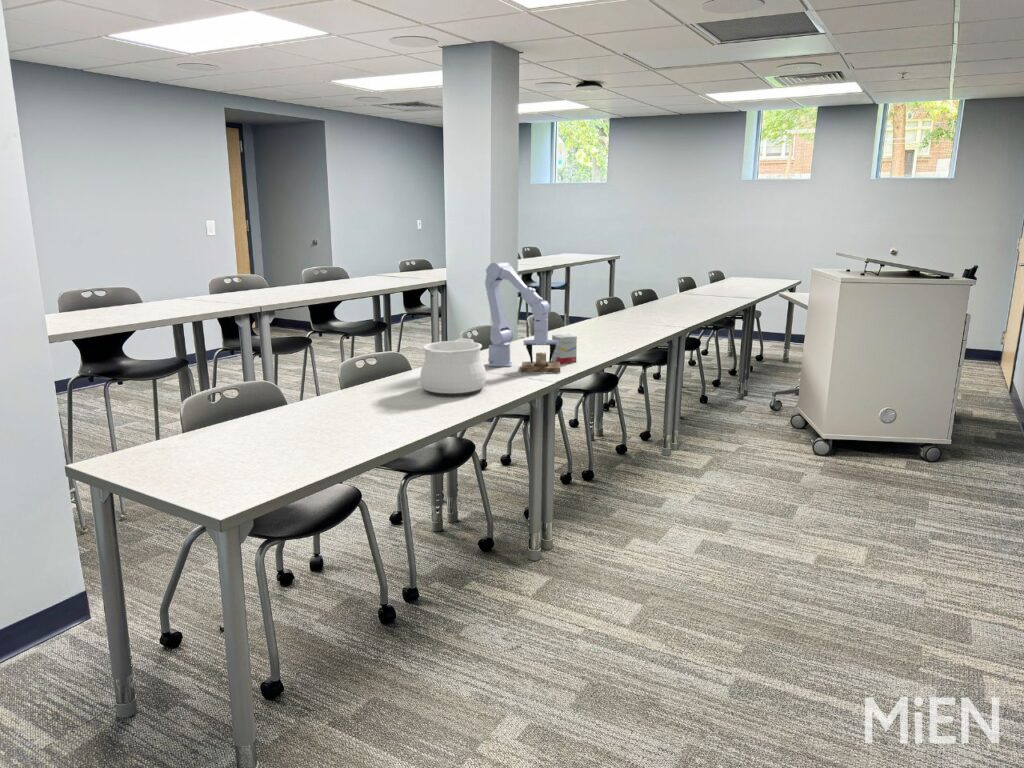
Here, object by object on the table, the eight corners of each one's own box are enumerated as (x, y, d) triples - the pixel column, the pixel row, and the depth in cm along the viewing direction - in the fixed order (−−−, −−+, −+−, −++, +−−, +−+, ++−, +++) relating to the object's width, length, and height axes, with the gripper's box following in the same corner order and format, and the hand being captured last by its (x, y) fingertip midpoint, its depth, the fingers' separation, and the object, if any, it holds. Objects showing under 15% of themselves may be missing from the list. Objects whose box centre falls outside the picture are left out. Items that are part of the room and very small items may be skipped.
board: (521, 372, 295) (521, 368, 295) (522, 366, 308) (522, 361, 308) (560, 372, 295) (560, 368, 294) (559, 366, 307) (559, 361, 307)
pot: (438, 380, 284) (437, 336, 280) (497, 384, 277) (496, 339, 273) (407, 397, 258) (405, 349, 254) (470, 402, 250) (469, 353, 246)
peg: (535, 370, 299) (535, 354, 298) (536, 368, 303) (536, 352, 302) (545, 371, 298) (545, 354, 297) (546, 368, 303) (546, 352, 301)
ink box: (577, 362, 315) (577, 335, 312) (559, 364, 312) (559, 337, 309) (568, 359, 323) (568, 333, 320) (551, 360, 320) (551, 334, 317)
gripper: (523, 331, 294) (523, 364, 297) (558, 331, 293) (558, 364, 296) (523, 328, 301) (523, 360, 304) (558, 329, 300) (558, 360, 303)
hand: (540, 362), depth 301 cm, fingers open, 7 cm apart
